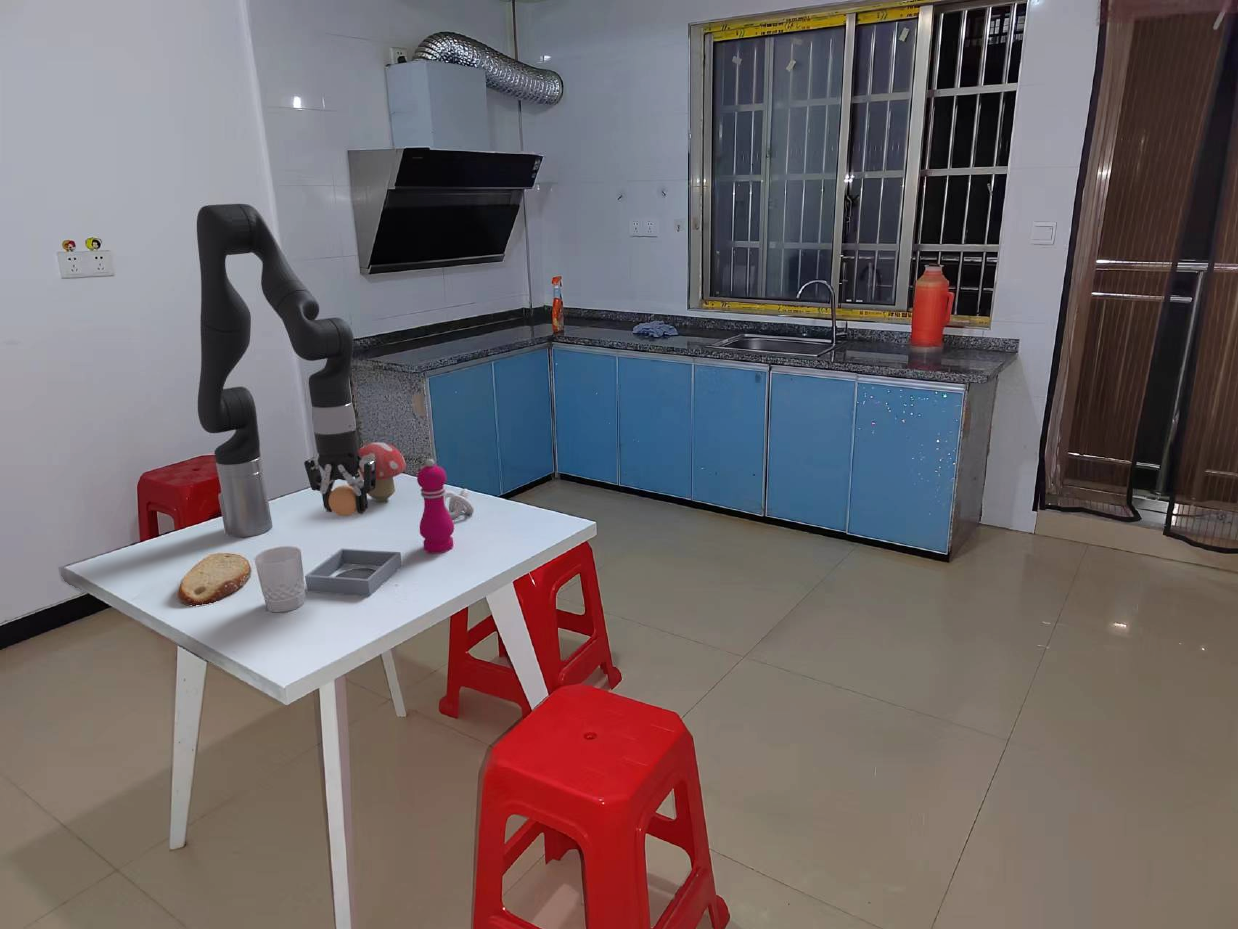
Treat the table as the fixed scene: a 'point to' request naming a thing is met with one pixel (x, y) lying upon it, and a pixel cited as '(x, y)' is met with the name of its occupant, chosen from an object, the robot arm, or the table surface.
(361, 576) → the pad
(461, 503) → the knot
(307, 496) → the table surface
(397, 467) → the decorative mushroom
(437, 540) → the pepper mill
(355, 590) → the corral
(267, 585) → the white cup
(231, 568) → the slice of bread
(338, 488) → the ball
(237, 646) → the table surface
